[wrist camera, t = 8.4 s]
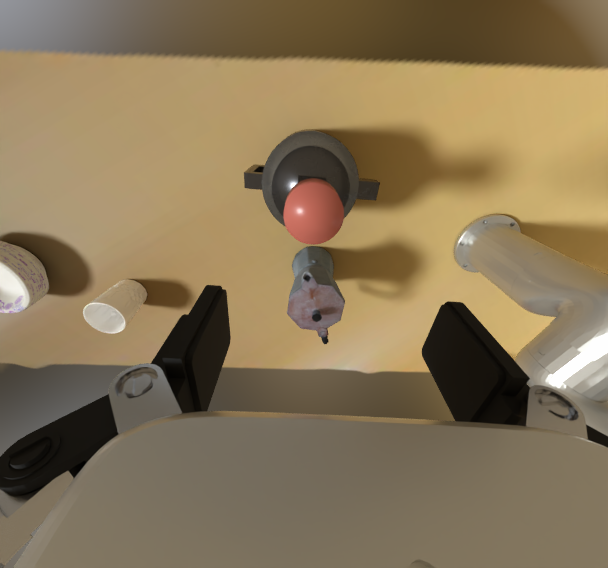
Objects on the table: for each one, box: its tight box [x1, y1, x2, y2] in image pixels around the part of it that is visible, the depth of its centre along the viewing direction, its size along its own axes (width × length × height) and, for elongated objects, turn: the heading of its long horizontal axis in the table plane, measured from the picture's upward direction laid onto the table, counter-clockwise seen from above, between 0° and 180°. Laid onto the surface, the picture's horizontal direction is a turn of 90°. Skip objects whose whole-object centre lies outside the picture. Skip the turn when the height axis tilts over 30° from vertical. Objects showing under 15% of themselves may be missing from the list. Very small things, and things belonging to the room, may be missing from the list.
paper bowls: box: [0, 241, 49, 313], centre depth 53 cm, size 15×15×8 cm
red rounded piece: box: [284, 178, 344, 244], centre depth 29 cm, size 6×6×10 cm
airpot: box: [244, 130, 380, 226], centre depth 37 cm, size 19×13×23 cm
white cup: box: [83, 279, 147, 333], centre depth 56 cm, size 8×8×10 cm
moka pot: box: [287, 246, 345, 344], centre depth 49 cm, size 10×15×20 cm, turn 19°
